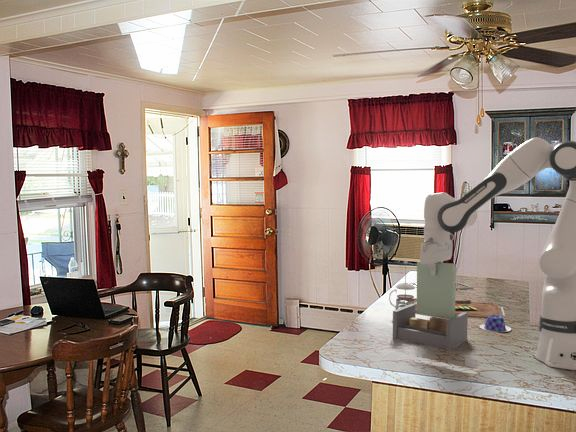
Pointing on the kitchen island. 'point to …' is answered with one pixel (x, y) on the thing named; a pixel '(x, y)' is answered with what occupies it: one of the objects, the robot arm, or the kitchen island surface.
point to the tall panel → (436, 290)
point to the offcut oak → (420, 323)
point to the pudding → (495, 324)
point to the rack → (444, 340)
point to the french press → (405, 297)
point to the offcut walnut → (438, 324)
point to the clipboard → (459, 284)
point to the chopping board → (474, 308)
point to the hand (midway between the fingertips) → (436, 274)
